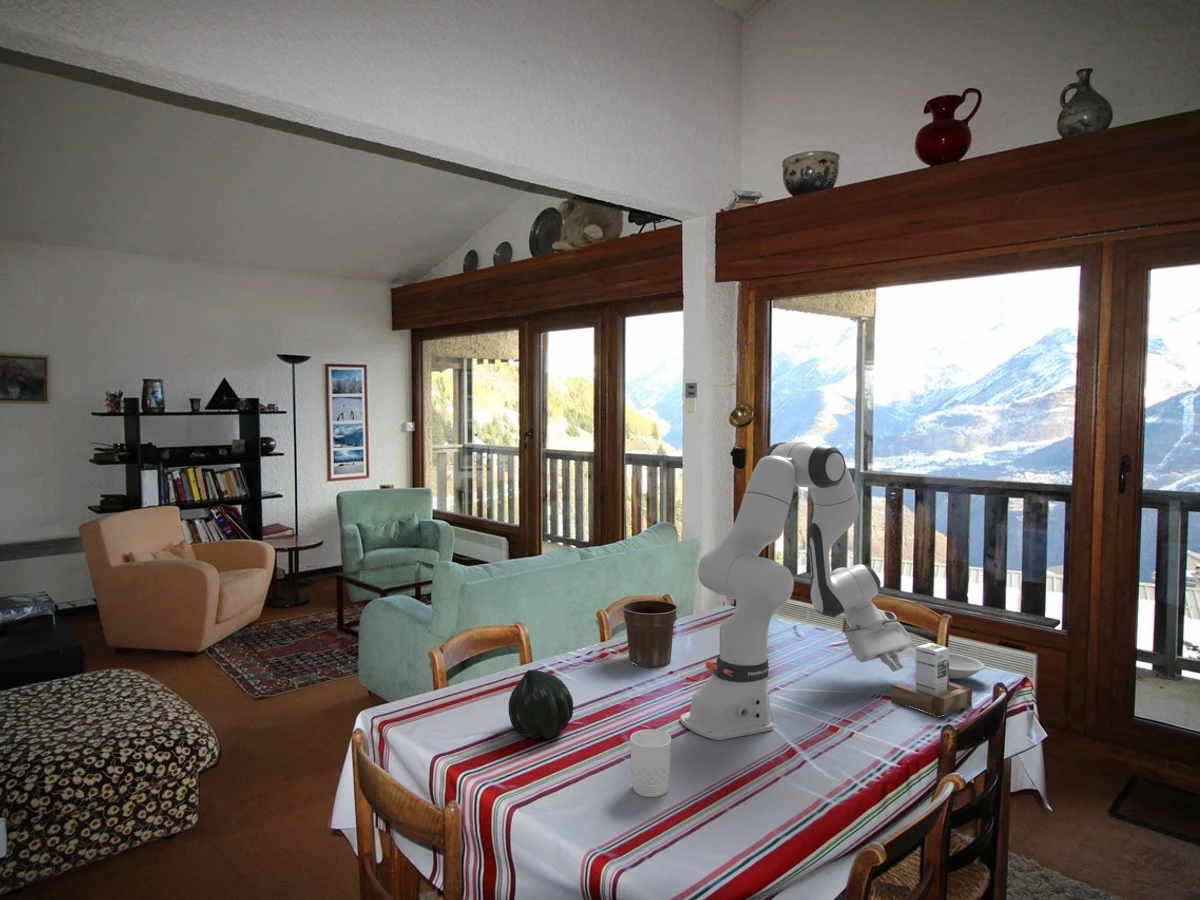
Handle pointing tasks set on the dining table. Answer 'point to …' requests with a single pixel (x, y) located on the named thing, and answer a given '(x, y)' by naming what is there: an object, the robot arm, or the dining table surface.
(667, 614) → the plant pot
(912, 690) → the walnut bay
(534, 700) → the squash
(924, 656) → the syrup box
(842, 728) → the dining table surface
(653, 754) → the white cup
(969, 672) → the dish
